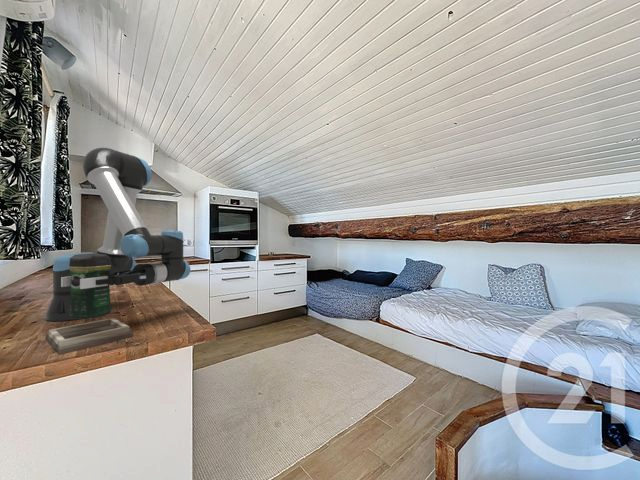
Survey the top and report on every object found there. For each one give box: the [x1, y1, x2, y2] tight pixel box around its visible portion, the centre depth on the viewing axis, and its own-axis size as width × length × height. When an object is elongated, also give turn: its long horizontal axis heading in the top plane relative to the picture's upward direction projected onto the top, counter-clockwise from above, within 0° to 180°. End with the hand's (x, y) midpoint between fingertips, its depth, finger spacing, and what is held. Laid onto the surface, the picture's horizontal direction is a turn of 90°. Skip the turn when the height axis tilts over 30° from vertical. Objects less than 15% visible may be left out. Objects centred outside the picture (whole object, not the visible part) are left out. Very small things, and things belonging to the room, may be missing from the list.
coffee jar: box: [69, 252, 112, 320], centre depth 80 cm, size 10×8×19 cm
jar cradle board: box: [45, 317, 134, 355], centre depth 80 cm, size 18×16×3 cm
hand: (71, 283), depth 76 cm, fingers closed on coffee jar, 8 cm apart
